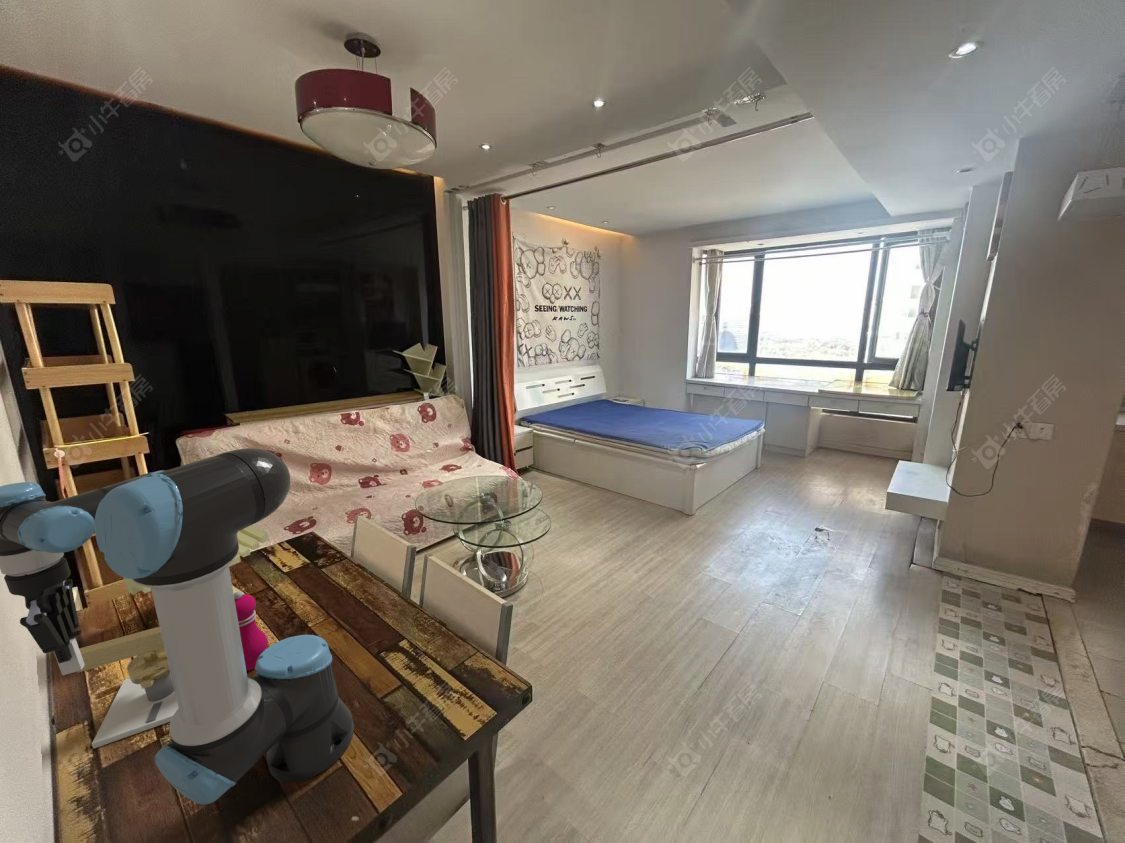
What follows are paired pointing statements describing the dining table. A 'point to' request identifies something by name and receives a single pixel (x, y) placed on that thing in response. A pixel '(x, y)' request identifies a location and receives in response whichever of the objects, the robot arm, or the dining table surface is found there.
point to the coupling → (131, 655)
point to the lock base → (137, 710)
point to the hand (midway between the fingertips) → (73, 670)
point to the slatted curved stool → (245, 539)
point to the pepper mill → (249, 629)
